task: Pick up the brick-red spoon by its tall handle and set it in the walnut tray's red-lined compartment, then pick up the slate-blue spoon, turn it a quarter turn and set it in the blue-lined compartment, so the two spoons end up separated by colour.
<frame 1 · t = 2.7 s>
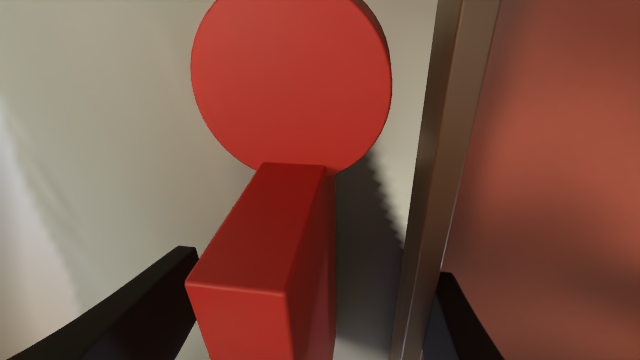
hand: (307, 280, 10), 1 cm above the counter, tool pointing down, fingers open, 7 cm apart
red spoon: (313, 250, 12), on the counter
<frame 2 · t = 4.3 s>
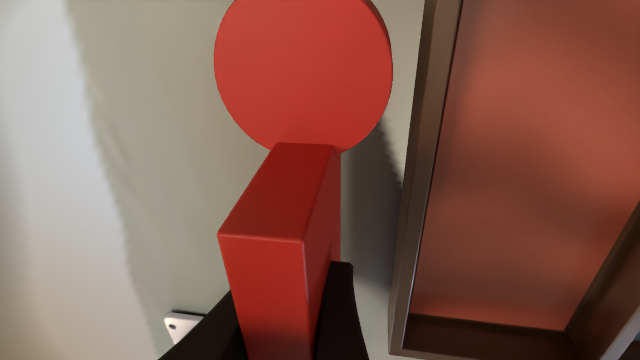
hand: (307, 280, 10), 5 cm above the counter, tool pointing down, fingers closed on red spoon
red spoon: (320, 230, 13), point 2 cm above the counter, touching gripper
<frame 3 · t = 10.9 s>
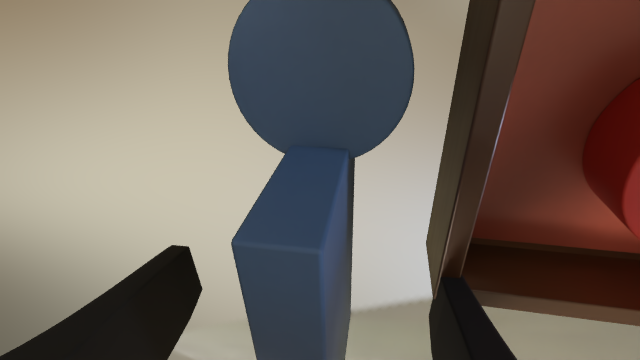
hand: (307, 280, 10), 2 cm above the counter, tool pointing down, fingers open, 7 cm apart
blue spoon: (331, 235, 12), on the counter
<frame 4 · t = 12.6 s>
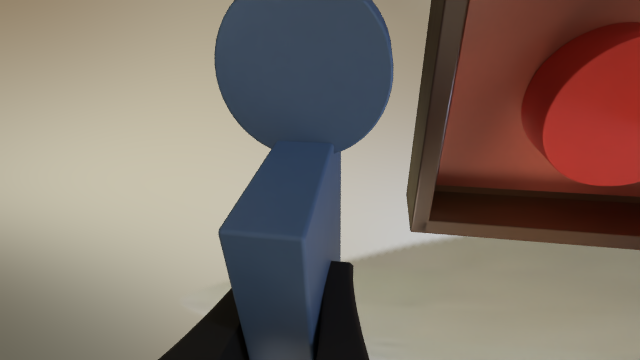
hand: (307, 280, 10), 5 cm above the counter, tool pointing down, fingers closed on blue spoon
blue spoon: (320, 229, 13), point 3 cm above the counter, touching gripper
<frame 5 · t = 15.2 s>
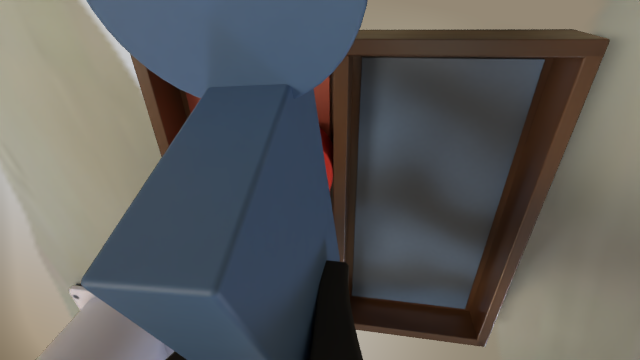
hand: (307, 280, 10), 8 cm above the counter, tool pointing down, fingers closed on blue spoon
sorting tray: (344, 194, 19), on the counter
red spoon: (285, 243, 20), point 1 cm above the counter, touching sorting tray
blue spoon: (303, 182, 10), point 7 cm above the counter, tilted 16°, touching gripper
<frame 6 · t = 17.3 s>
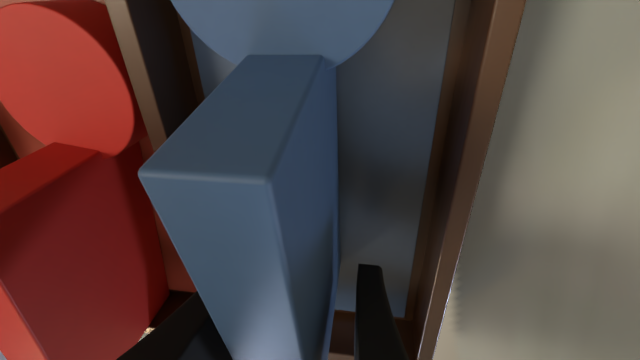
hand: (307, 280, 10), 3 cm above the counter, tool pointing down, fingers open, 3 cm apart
sorting tray: (207, 146, 12), on the counter
red spoon: (139, 222, 14), point 1 cm above the counter, touching sorting tray
blue spoon: (314, 176, 11), point 1 cm above the counter, tilted 8°, touching sorting tray
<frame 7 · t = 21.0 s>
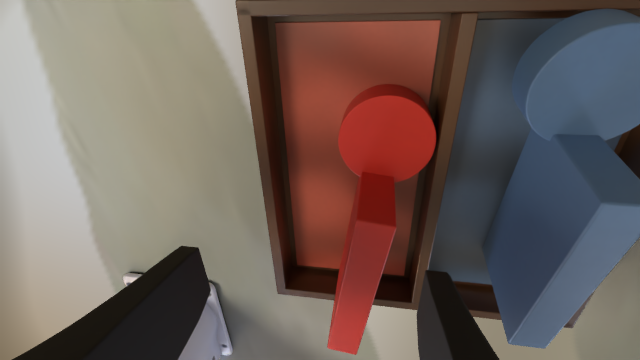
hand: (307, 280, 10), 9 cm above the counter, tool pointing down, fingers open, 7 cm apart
sorting tray: (430, 170, 18), on the counter
red spoon: (362, 222, 20), point 1 cm above the counter, touching sorting tray
blue spoon: (521, 192, 16), point 1 cm above the counter, tilted 8°, touching sorting tray
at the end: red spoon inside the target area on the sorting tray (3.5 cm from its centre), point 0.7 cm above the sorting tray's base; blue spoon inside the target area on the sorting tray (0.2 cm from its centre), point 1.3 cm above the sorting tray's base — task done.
